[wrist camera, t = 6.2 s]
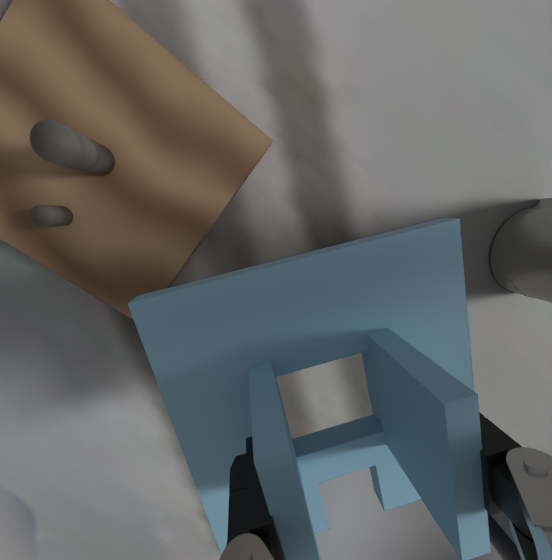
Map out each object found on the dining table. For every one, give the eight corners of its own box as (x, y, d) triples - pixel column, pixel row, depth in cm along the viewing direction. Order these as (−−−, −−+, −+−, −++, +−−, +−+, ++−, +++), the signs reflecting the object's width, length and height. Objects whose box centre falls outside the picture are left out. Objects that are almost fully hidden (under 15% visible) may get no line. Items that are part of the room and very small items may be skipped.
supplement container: (498, 539, 40) (604, 672, 28) (450, 506, 38) (543, 635, 26) (553, 486, 39) (686, 600, 27) (507, 448, 37) (631, 555, 25)
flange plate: (137, 295, 12) (43, 367, 6) (440, 218, 13) (604, 218, 7) (226, 537, 16) (217, 736, 10) (464, 461, 17) (592, 599, 11)
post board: (58, -37, 22) (-35, -166, 14) (270, 144, 26) (282, 116, 19) (-73, 184, 24) (-213, 169, 16) (145, 318, 28) (111, 354, 21)
